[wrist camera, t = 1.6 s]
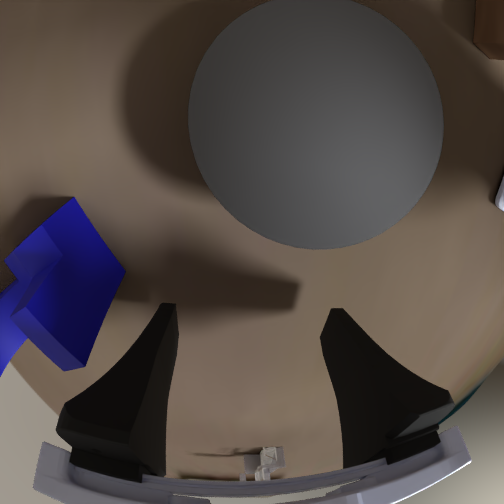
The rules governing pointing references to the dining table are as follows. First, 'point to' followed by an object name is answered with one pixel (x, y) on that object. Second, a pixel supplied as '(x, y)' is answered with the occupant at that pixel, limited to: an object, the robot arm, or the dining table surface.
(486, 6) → the frame
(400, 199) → the grey round dome
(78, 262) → the blue curved piece
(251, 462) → the architectural model
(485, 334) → the dining table surface
